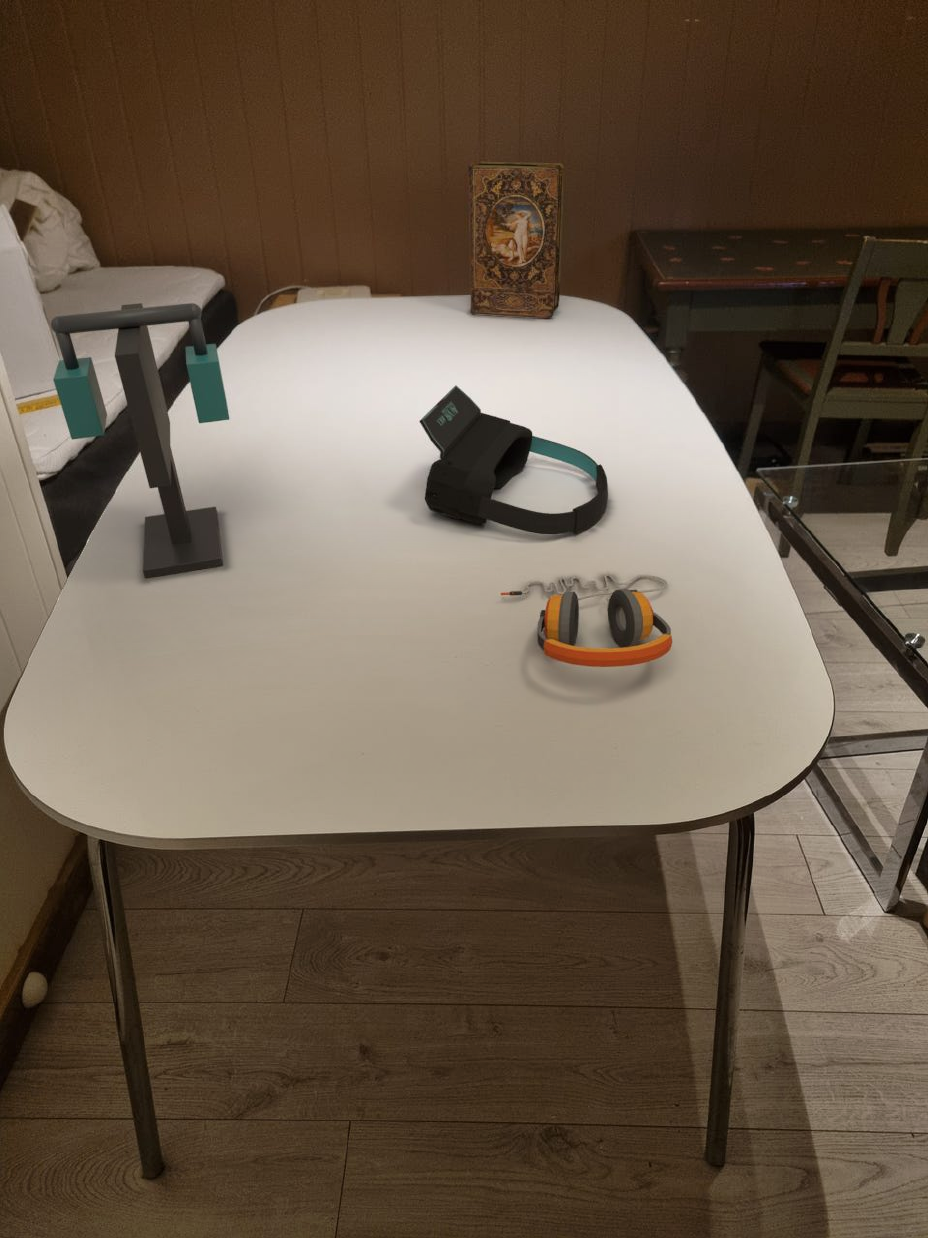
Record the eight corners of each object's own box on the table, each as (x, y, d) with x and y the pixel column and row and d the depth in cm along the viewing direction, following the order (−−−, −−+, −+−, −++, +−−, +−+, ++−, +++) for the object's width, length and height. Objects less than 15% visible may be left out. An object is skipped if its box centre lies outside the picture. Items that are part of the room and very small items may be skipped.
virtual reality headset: (454, 446, 112) (465, 374, 105) (615, 494, 108) (636, 422, 101) (397, 511, 97) (406, 431, 91) (581, 570, 93) (603, 490, 87)
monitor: (144, 588, 88) (78, 359, 74) (147, 516, 101) (90, 307, 87) (223, 575, 90) (173, 348, 76) (216, 505, 102) (172, 299, 88)
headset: (71, 439, 83) (36, 326, 76) (76, 418, 87) (43, 309, 81) (229, 419, 86) (208, 309, 80) (226, 400, 90) (206, 294, 84)
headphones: (661, 548, 87) (721, 625, 69) (658, 596, 89) (716, 684, 71) (497, 555, 87) (513, 634, 69) (498, 603, 89) (514, 693, 71)
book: (467, 314, 162) (465, 166, 147) (475, 305, 166) (473, 161, 151) (553, 319, 158) (559, 168, 143) (558, 310, 162) (565, 163, 148)
